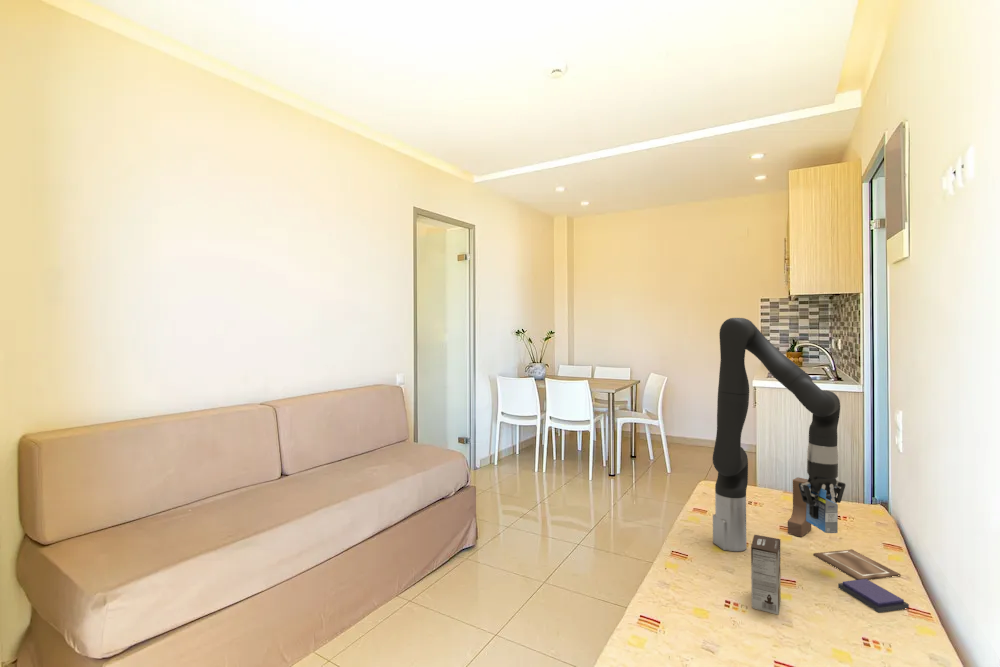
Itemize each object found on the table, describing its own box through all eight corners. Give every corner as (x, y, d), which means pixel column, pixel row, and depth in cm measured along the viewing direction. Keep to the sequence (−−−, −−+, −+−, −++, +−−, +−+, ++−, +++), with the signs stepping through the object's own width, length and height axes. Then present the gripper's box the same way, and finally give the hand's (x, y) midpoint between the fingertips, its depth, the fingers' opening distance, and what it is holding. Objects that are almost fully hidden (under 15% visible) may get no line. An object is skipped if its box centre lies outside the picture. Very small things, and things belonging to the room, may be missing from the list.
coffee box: (754, 591, 134) (753, 533, 133) (781, 598, 130) (780, 538, 130) (751, 608, 126) (750, 546, 126) (779, 615, 122) (779, 552, 122)
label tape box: (838, 533, 139) (840, 490, 139) (824, 533, 139) (826, 490, 139) (817, 521, 148) (819, 480, 147) (804, 520, 148) (806, 480, 147)
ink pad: (878, 612, 123) (878, 604, 123) (838, 587, 135) (838, 580, 135) (908, 608, 125) (908, 601, 125) (866, 584, 136) (866, 577, 136)
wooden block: (801, 537, 167) (801, 485, 167) (787, 533, 170) (786, 482, 170) (811, 530, 172) (811, 479, 172) (797, 526, 176) (797, 476, 176)
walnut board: (858, 581, 138) (858, 578, 138) (813, 555, 154) (813, 552, 154) (900, 576, 141) (900, 573, 141) (851, 551, 156) (851, 549, 156)
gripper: (833, 454, 148) (832, 511, 148) (791, 457, 145) (790, 514, 146) (855, 461, 140) (853, 521, 141) (811, 464, 138) (810, 524, 138)
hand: (821, 517), depth 143 cm, fingers closed on label tape box, 4 cm apart
